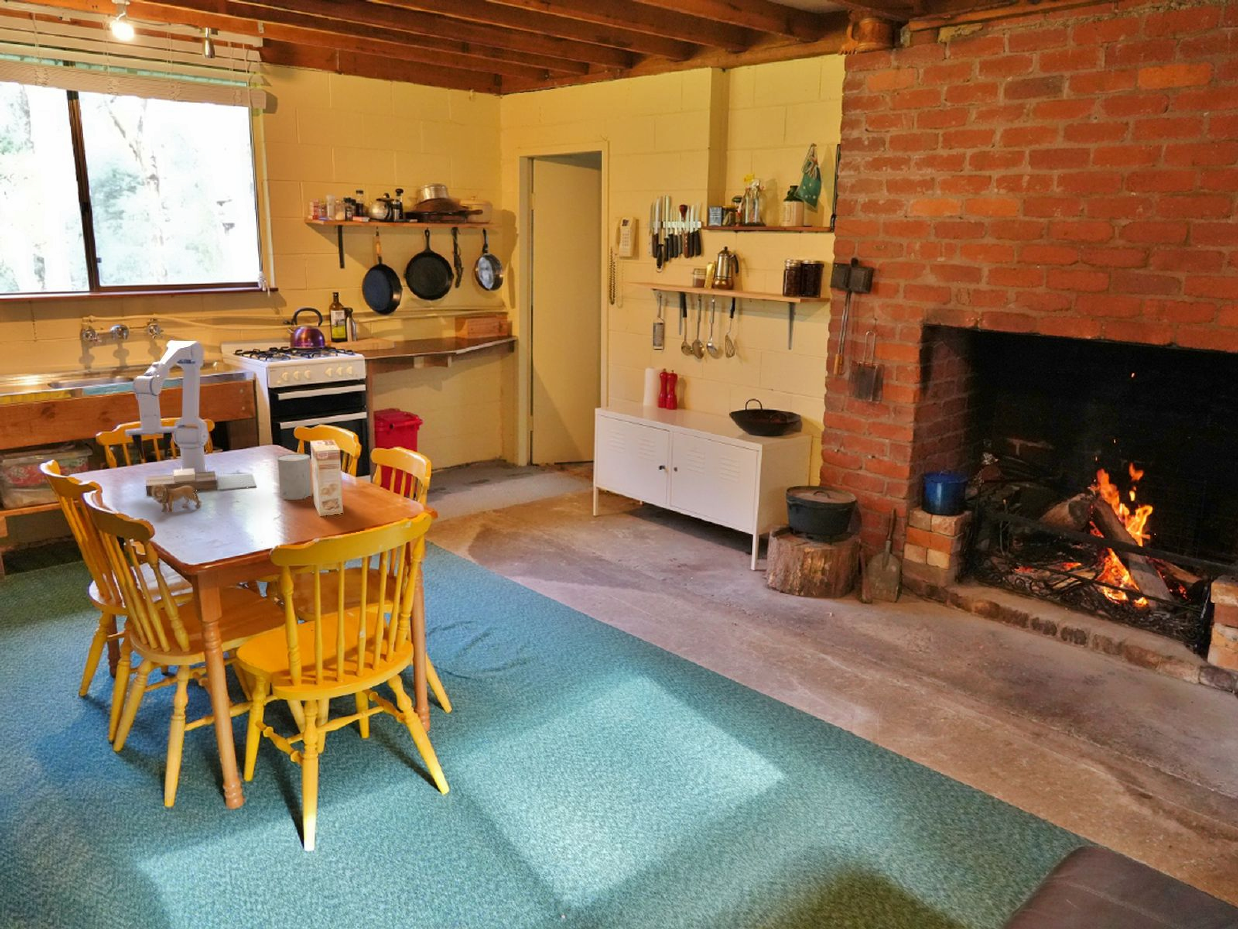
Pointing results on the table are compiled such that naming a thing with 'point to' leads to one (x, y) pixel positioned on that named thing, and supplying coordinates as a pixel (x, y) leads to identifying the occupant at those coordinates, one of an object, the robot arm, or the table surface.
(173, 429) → the robot arm
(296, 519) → the table surface
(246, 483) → the mat
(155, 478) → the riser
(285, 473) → the grey cylinder
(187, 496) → the lion figurine
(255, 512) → the table surface
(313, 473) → the coffeecake box
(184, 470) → the tile
